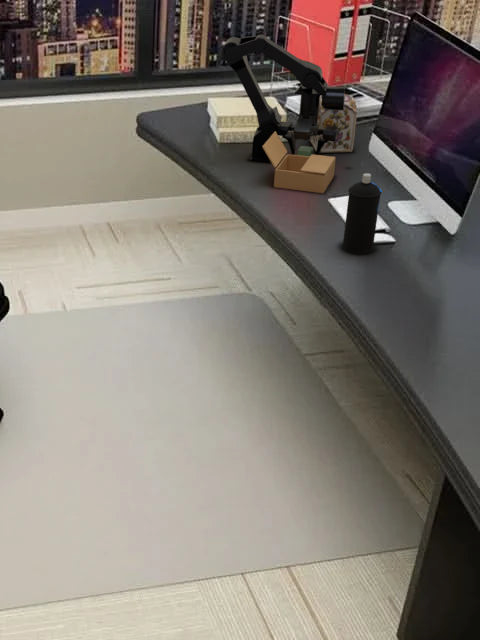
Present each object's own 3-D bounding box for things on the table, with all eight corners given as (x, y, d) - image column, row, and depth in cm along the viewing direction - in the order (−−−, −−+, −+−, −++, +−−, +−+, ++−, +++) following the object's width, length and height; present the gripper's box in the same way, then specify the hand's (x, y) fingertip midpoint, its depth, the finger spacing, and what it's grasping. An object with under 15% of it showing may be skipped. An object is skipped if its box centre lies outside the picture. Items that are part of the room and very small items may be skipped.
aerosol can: (355, 257, 257) (365, 183, 245) (335, 245, 263) (343, 172, 251) (380, 249, 260) (391, 176, 248) (359, 238, 266) (368, 166, 254)
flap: (275, 167, 294) (274, 167, 294) (287, 151, 304) (286, 152, 304) (263, 146, 292) (262, 146, 292) (275, 131, 302) (274, 131, 302)
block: (296, 162, 313) (297, 150, 311) (299, 158, 316) (300, 145, 314) (309, 163, 312) (310, 151, 309) (312, 159, 315) (313, 147, 312)
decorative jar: (353, 152, 318) (359, 96, 308) (316, 154, 318) (321, 97, 308) (345, 140, 328) (351, 85, 318) (309, 141, 328) (314, 86, 318)
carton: (273, 187, 297) (275, 167, 294) (285, 170, 307) (287, 151, 304) (323, 193, 292) (325, 173, 288) (333, 176, 302) (335, 156, 299)
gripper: (272, 113, 302) (268, 163, 311) (334, 119, 295) (328, 170, 304) (281, 102, 310) (278, 151, 319) (342, 108, 303) (336, 157, 312)
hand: (304, 157), depth 313 cm, fingers open, 7 cm apart
